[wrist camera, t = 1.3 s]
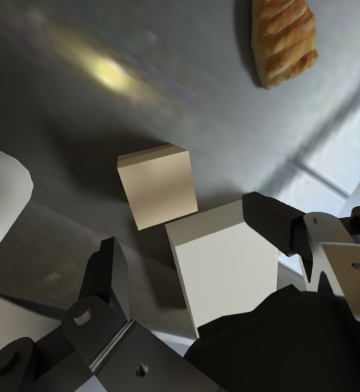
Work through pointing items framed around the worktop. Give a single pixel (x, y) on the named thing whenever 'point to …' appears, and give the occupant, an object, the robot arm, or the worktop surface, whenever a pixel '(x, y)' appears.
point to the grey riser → (221, 263)
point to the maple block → (158, 184)
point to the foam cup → (12, 191)
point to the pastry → (282, 40)
